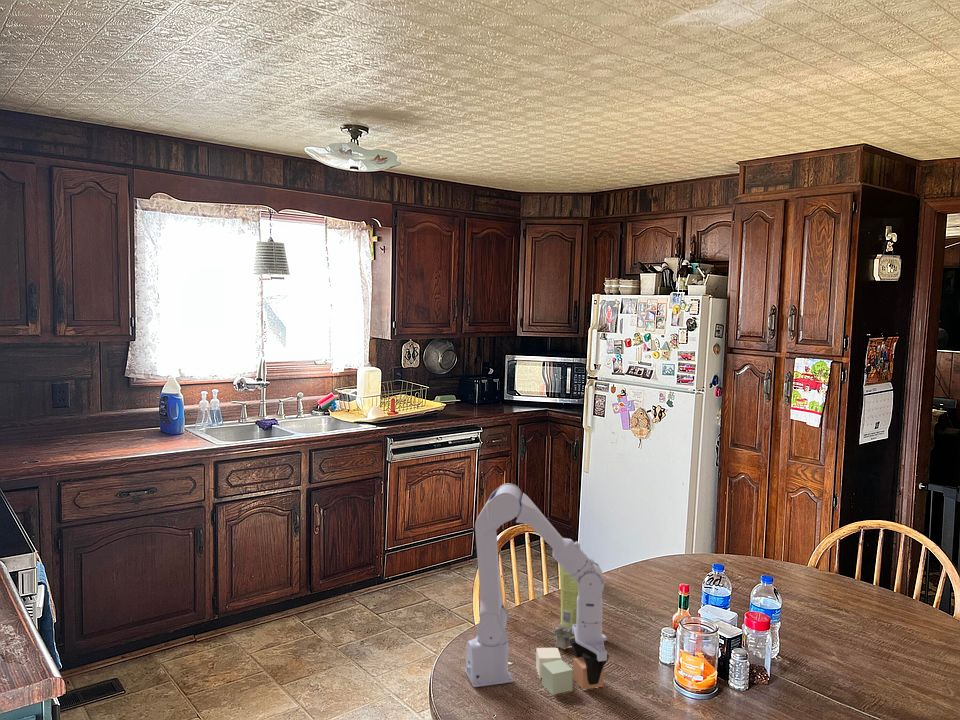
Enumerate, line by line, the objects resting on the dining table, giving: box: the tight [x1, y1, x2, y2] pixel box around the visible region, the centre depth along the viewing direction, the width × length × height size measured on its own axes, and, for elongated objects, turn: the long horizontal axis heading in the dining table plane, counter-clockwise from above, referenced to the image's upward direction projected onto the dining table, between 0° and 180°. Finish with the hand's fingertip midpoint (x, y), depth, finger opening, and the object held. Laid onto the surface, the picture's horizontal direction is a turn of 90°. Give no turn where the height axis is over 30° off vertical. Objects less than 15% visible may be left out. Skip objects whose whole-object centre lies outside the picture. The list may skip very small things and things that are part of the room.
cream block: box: [535, 647, 562, 679], centre depth 167 cm, size 5×5×5 cm
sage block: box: [541, 659, 574, 696], centre depth 160 cm, size 5×5×5 cm
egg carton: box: [553, 625, 575, 648], centre depth 182 cm, size 11×8×4 cm
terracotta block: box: [573, 657, 604, 690], centre depth 162 cm, size 5×5×5 cm
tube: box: [558, 563, 578, 627], centre depth 192 cm, size 6×5×20 cm
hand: (588, 677), depth 163 cm, fingers closed on terracotta block, 5 cm apart
